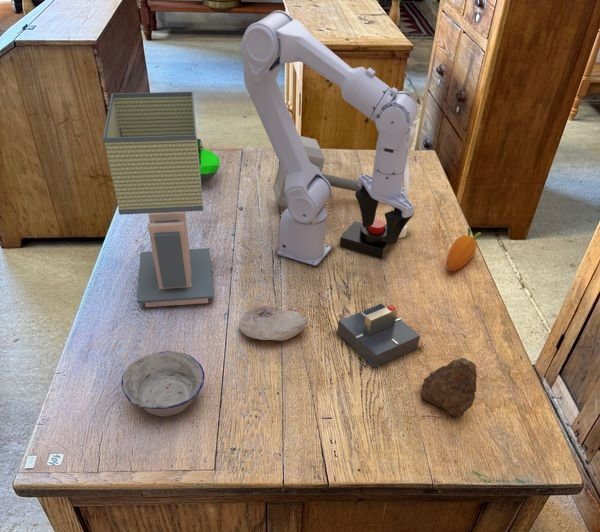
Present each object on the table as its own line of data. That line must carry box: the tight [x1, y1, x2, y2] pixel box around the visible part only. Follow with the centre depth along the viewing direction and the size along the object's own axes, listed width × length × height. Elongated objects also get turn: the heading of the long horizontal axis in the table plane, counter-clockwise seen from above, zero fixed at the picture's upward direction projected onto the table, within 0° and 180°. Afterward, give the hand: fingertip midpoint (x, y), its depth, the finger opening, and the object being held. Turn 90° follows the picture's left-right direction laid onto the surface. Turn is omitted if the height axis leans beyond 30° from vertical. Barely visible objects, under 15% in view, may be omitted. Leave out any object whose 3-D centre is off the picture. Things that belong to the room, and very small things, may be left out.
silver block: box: [363, 304, 399, 336], centre depth 101 cm, size 6×2×4 cm, turn 123°
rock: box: [420, 357, 478, 418], centre depth 91 cm, size 10×6×10 cm
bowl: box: [120, 350, 205, 417], centre depth 92 cm, size 13×13×5 cm
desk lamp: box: [102, 91, 215, 308], centre depth 103 cm, size 18×14×33 cm
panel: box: [337, 303, 421, 369], centre depth 104 cm, size 11×10×3 cm
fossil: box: [238, 305, 309, 342], centre depth 104 cm, size 12×4×10 cm
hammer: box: [272, 135, 362, 210], centre depth 136 cm, size 15×8×30 cm
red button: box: [368, 218, 386, 234], centre depth 124 cm, size 4×4×2 cm
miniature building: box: [197, 138, 221, 185], centre depth 142 cm, size 12×12×11 cm
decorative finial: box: [392, 116, 418, 239], centre depth 122 cm, size 6×4×25 cm
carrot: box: [446, 227, 482, 272], centre depth 122 cm, size 5×5×15 cm
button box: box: [339, 220, 393, 259], centre depth 126 cm, size 10×8×4 cm
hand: (379, 234), depth 115 cm, fingers open, 7 cm apart
